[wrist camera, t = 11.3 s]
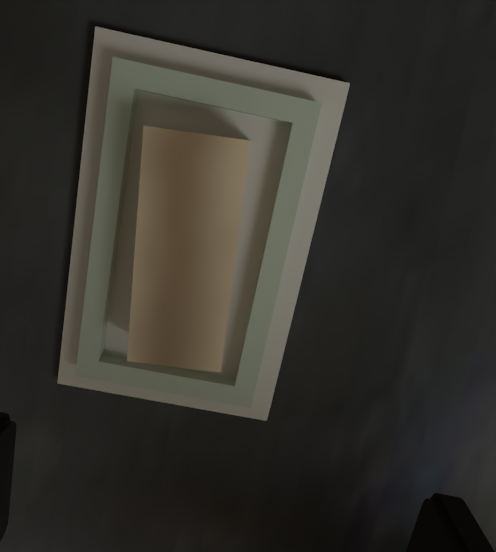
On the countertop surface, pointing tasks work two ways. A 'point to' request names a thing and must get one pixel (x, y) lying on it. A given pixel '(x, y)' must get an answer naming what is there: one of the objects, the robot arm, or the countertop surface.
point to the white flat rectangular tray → (253, 226)
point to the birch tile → (185, 247)
